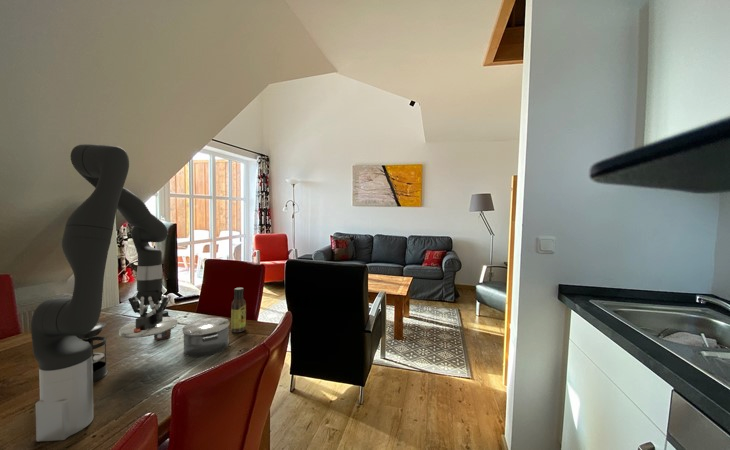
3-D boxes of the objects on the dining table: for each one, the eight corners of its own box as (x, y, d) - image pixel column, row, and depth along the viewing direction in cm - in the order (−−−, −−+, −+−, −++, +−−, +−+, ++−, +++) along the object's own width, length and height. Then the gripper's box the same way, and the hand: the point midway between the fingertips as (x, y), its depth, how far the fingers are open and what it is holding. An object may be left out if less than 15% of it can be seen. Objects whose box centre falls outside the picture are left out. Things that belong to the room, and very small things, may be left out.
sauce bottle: (243, 333, 128) (243, 290, 128) (229, 333, 127) (229, 290, 127) (247, 327, 135) (247, 286, 134) (233, 327, 134) (233, 286, 133)
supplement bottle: (162, 341, 119) (161, 315, 118) (150, 339, 120) (150, 313, 119) (174, 335, 125) (174, 310, 124) (163, 334, 126) (162, 309, 125)
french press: (111, 366, 99) (110, 302, 98) (109, 378, 92) (108, 309, 91) (62, 378, 92) (61, 309, 91) (56, 392, 84) (54, 317, 84)
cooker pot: (234, 352, 110) (234, 330, 110) (184, 365, 101) (183, 340, 100) (225, 332, 128) (225, 313, 128) (181, 341, 119) (181, 320, 118)
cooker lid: (159, 337, 96) (159, 322, 96) (105, 338, 94) (105, 323, 94) (186, 319, 113) (186, 306, 112) (141, 320, 111) (141, 307, 111)
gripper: (121, 279, 98) (121, 328, 99) (163, 279, 100) (163, 327, 100) (136, 275, 106) (136, 320, 106) (175, 275, 107) (175, 319, 108)
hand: (149, 323), depth 103 cm, fingers closed on cooker lid, 3 cm apart
